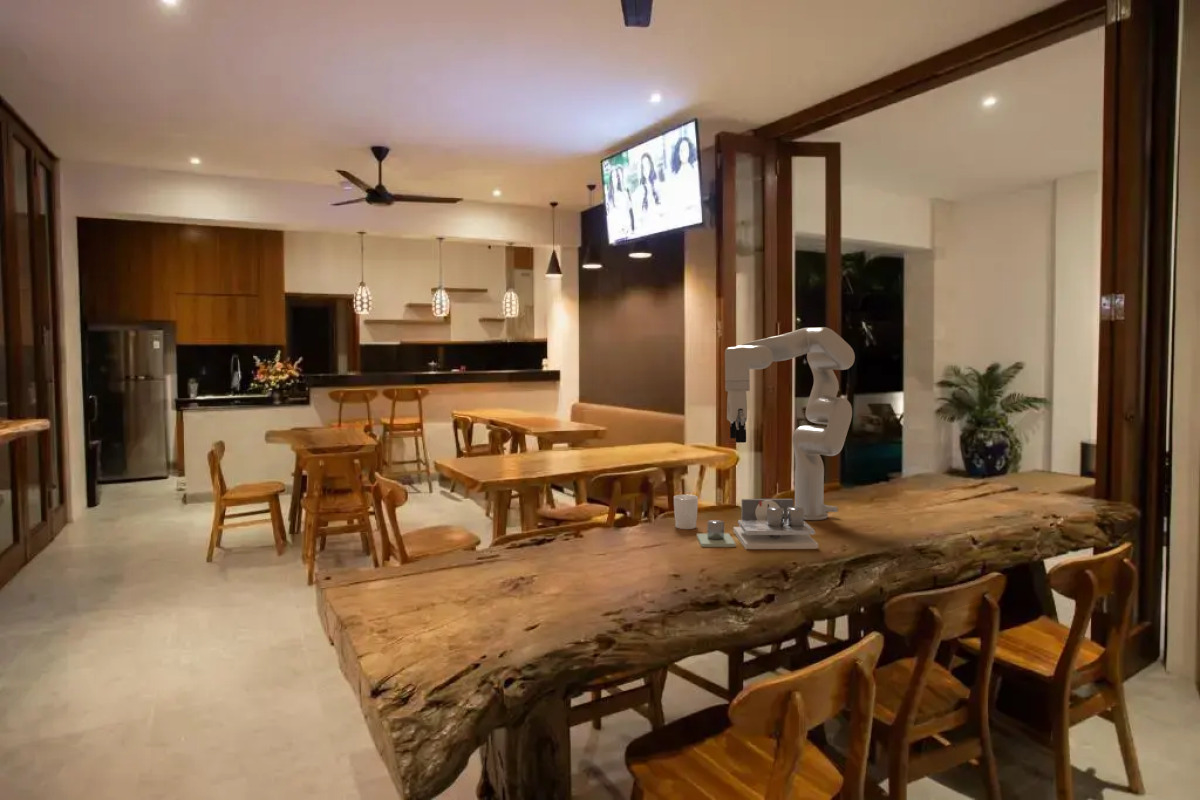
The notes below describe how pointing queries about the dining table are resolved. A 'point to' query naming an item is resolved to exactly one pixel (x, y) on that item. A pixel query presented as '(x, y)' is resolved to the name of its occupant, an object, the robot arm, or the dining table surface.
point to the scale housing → (758, 511)
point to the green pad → (716, 541)
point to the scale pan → (773, 528)
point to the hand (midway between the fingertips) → (738, 440)
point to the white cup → (685, 511)
